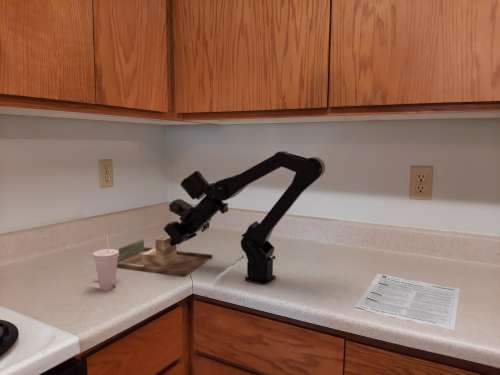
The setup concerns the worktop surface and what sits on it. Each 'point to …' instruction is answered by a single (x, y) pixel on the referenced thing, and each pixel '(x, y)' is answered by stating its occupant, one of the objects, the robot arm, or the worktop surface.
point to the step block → (161, 252)
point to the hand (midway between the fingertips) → (171, 244)
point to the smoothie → (106, 266)
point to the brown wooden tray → (177, 268)
